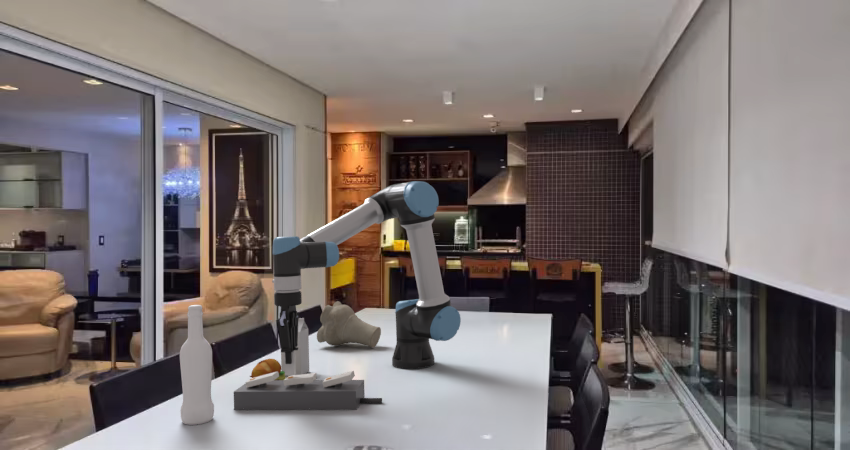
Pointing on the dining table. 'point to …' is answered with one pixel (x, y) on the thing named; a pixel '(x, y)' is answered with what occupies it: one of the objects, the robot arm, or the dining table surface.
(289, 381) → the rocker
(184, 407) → the bottle
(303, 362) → the milk carton
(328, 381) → the rocker
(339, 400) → the power strip
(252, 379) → the rocker
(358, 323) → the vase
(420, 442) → the dining table surface
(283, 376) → the cheeseburger
